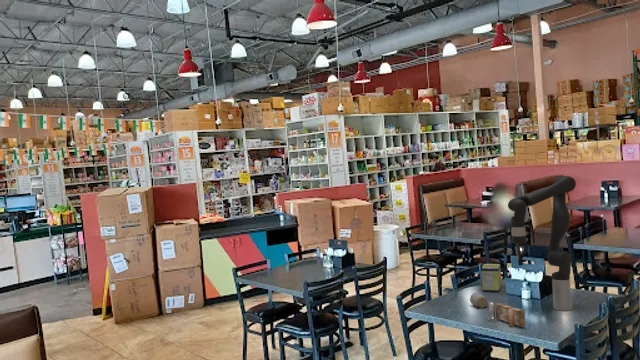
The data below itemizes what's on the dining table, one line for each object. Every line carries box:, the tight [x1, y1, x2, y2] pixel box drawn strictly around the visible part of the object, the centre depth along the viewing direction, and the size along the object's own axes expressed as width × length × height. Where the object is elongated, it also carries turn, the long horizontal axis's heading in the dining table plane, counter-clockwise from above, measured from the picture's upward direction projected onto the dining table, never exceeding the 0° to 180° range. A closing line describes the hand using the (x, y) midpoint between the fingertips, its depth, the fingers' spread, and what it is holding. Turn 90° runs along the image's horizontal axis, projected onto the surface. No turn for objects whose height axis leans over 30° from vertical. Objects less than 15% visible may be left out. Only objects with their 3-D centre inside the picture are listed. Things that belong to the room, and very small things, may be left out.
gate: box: [494, 302, 526, 328], centre depth 280 cm, size 19×2×8 cm, turn 25°
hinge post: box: [486, 301, 499, 322], centre depth 289 cm, size 5×5×10 cm
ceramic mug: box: [469, 292, 490, 309], centre depth 313 cm, size 11×8×8 cm
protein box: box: [481, 263, 503, 293], centre depth 348 cm, size 10×16×16 cm
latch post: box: [508, 309, 515, 328], centre depth 276 cm, size 2×2×9 cm
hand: (520, 265), depth 296 cm, fingers closed
